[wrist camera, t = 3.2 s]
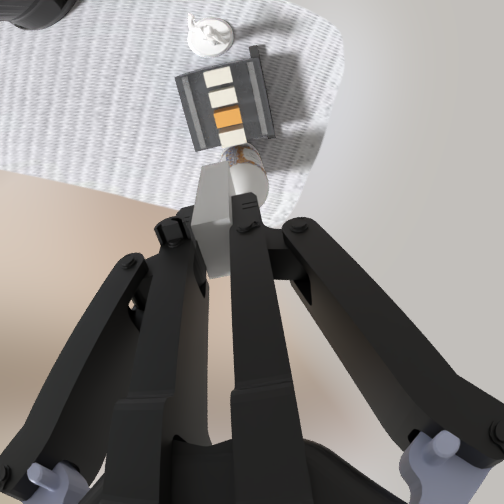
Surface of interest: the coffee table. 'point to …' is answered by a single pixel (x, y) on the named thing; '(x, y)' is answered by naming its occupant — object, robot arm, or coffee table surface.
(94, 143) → the coffee table surface
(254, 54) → the dark grey slat
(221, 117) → the paddle
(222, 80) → the cream rectangular block
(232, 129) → the cream small block
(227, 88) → the paddle
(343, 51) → the coffee table surface
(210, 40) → the figurine
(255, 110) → the breaker panel
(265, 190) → the bath foam
